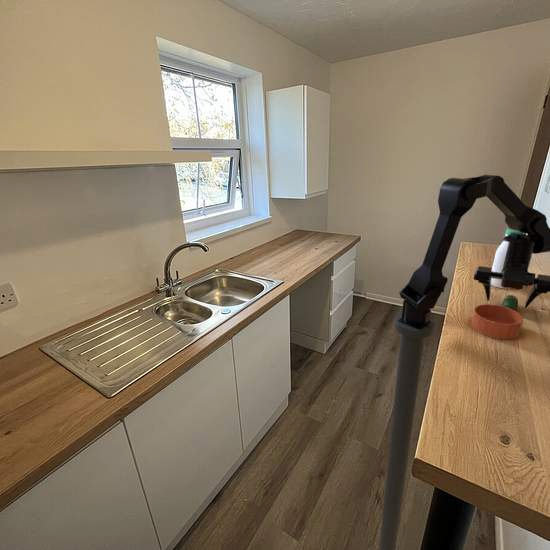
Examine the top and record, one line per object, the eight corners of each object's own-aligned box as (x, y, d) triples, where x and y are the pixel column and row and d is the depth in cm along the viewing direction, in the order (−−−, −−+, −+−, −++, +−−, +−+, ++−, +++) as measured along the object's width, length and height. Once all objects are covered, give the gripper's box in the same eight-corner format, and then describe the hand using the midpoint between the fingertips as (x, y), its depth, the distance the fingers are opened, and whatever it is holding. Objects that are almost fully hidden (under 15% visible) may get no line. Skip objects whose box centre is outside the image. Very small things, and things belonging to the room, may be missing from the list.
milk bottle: (508, 291, 101) (523, 234, 94) (484, 284, 108) (496, 229, 100) (520, 285, 105) (535, 229, 97) (496, 278, 111) (508, 225, 103)
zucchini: (510, 316, 89) (520, 308, 87) (498, 308, 90) (508, 300, 88) (512, 305, 94) (521, 297, 92) (500, 298, 96) (509, 290, 94)
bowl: (464, 327, 84) (467, 313, 83) (481, 313, 90) (483, 300, 88) (510, 344, 76) (514, 329, 74) (525, 328, 82) (529, 313, 80)
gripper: (475, 259, 85) (466, 307, 91) (564, 270, 74) (547, 324, 80) (480, 248, 93) (471, 293, 99) (561, 257, 82) (546, 306, 88)
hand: (506, 303), depth 92 cm, fingers open, 9 cm apart
